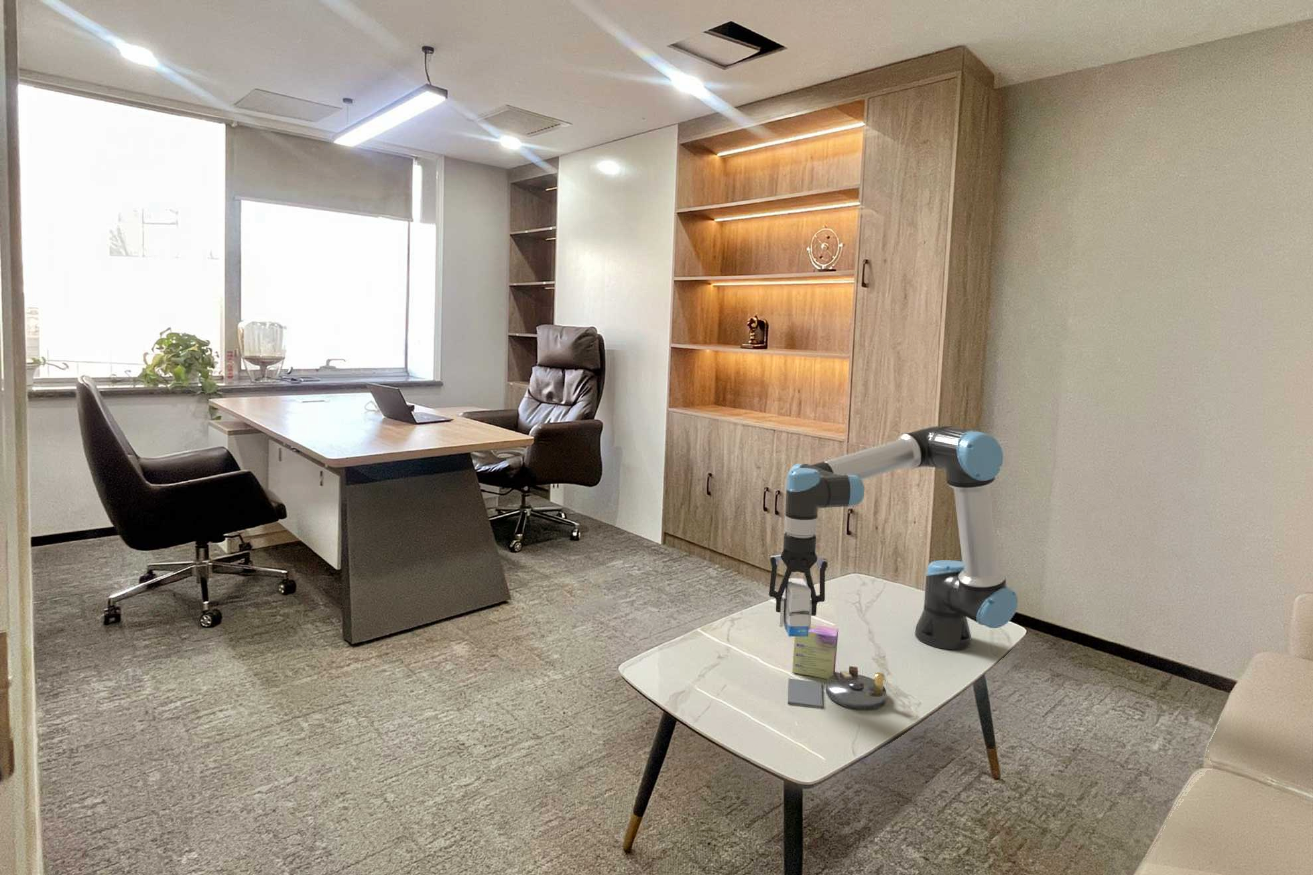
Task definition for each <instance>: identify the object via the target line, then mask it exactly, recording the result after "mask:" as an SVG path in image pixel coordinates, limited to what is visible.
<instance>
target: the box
mask: <svg viewBox="0 0 1313 875" xmlns="http://www.w3.org/2000/svg"><path fill="white" fill-rule="evenodd" d="M838 638H839V628H836V627H829V626H822V625H819V624H818V625H817V624H812V623H811V628H810V630H809V631H808V637H799V636H794V641H793V656H792V671H791V672H792V673H794V674H798V675H804V676H805V675H806V676H811V677H816V678H821V679H825V680H826V679H827V680H828V678H830V677H831V676H833V675H835V672H836V665H837V664H836V662H837V651H838Z"/></svg>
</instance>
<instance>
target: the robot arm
mask: <svg viewBox="0 0 1313 875" xmlns="http://www.w3.org/2000/svg"><path fill="white" fill-rule="evenodd" d="M1003 464H1004V452H1003V448H1002V446H1001V445H1000V443H999V441H998V440H997V439H996V438H995V437H994V436H992V435H990V434H987V433H985V432H981V431H978V430H969V429H965V428H964V429H963V428H959V427H954V426H948V425H937V426H931V427H926V428H922V429H918V430H916V431H911V432H907V433H904V434H901V435H900V436H899V437H897V440H893V441H889V442H886V443H884V444H879V445H876V446H873V447H870V448H866V449H862V450H858V451H855V452H852V453H849V454H845V455H841V456H838V457H834V458H832V459H829V460H828V459H827V460H825V461H820V462H817V463H813V464H809V463H803V462H802V463H796V464H794V465H793V466H792V467H791V468H790V469H789V471H788V473H787V478H786V484H785V493H786V494H785V509H784V510H785V512H784V513H785V514H784V529H783V530H784V532H785V533H784V534H783V545H782V546H783V550H782V551H781V552H780V553H781V554H777V555H775V554H771V555H770V557H769V560H770V566H771V574H770V579H769V580H770V581H769V582H770V583H769V591H768V596H769V597H770V598H773V599H775V612H776V613H779V614H780V616H779V627H780V628H783V627H784V626H783V619H784V600H785V597H783V596H784V590H785V588H786V585H787V583H788V580H789V578H791V575H792V573H797V572H799V573H801V574H802V573H803V574H804V577H805V582H806V584H807V585H808V587H809V588H810V589H811V599H810V614H809V630H810V628H811V624H812V617H816V616H817V609H818V608H817V607H818V606H817V605H818V604H819V603H820V602H821V603H823V602H825V601H826V571H827V570H826V569H827V567H828V565H829V564H828V559H826V558H823V559H822V558H820V557H818V555H817V554H816V551H817V550H816V548H817V546H816V545H817V536H816V534H817V530H818V513H819V509H825V508H826V509H827V508H829V509H830V508H843V507H846V508H848V507H852V506H857V505H859V504H860V503H862V501H863V499H864V497H865V486H864V483H863V481H864V480H867V479H870V478H874V477H877V476H879V475H883V474H888V473H890V472H894V471H897V470H901V469H903V468H908V469H910V470H914V469H917V468H922V467H923V468H924V467H925V468H935V469H937V470H942V471H944V472H945V479H946V485H948V486H949V487H950V488H951V489H953V493H954V494H953V495H954V500H955V501H954V502H955V510H956V518H957V519H956V520H957V527H958V535H959V544H960V551H961V560H962V561H961V560H960V561H959V560H949V559H947V560H946V559H942V560H934V561H931V562H930V563H929V564H928V566H927V571H926V574H925V589H924V601H923V611H922V612H921V615H920V617H919V619H918V621H917V623H916V625H915V628H914V629H915V630H914V633H915V634H914V636H915V637H916V639H917V640H918V641H919V642H920V641H921V642H922V643H923V644H926V645H929V646H931V647H935V648H939V649H945V650H954V651H956V650H964V649H967V648H969V647H970V646H971V644H972V635H971V630H970V626H969V622H968V621H969V620H972V621H974V622H976V623H977V624H978V625H981V626H985V627H987V628H991V629H998V628H1001V627H1003V626H1006V624H1007V623H1008V624H1009V622H1010V621H1011V620H1012V618H1013V617H1014V616H1015V614H1016V611H1017V609H1018V607H1019V606H1018V604H1019V599H1018V595H1017V594H1016V592H1015V591H1014V590H1013V589H1012V588H1010V587H1007V579H1006V574H1005V572H1004V571H1003V570H1001V569H999V563H998V556H997V545H996V537H995V535H996V534H995V525H994V519H993V517H994V516H993V508H992V498H991V490H990V486H991V485H992V484H993V483H995V481H996V477H997V475H998V474H999V473H1000V471H1001V467H1002V466H1003ZM781 561H782V562H783V563H784V565H785V566H786V569H785V571H784V575H783V577H782V579H781V582H780V585H779V587H778V590H777V591H776V582H777V574H778V571H777V570H778V566H779V565H780V563H781ZM815 564H817V568H818V569H819V594H817V593H816V589H815V585H814V584H815V583H814V582H813V581H814V580H813V576H812V574H811V568H812V567H813V566H814V565H815ZM968 619H969V620H968Z"/></svg>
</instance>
